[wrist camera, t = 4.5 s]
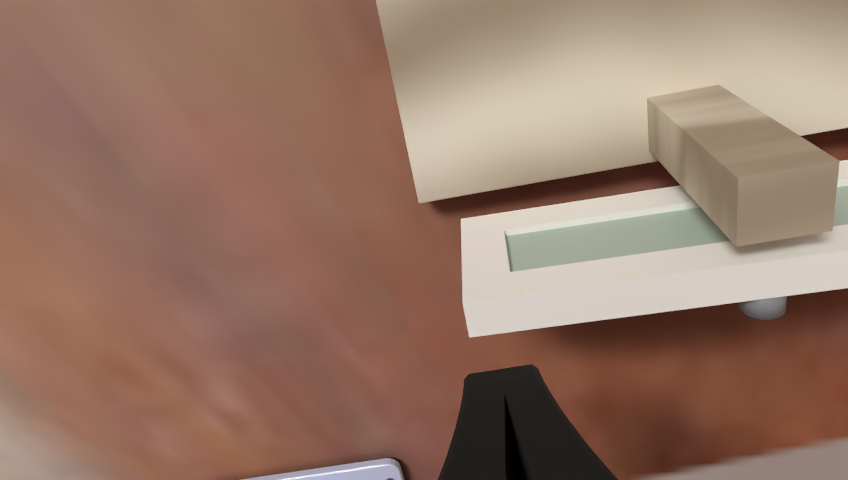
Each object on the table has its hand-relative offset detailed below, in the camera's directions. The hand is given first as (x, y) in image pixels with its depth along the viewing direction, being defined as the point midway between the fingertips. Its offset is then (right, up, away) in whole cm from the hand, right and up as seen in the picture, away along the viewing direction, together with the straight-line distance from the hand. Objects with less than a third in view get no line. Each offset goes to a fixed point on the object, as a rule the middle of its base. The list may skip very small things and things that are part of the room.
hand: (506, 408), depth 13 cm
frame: (+6, +4, +6) cm, 10 cm away
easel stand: (+5, +10, +6) cm, 13 cm away
